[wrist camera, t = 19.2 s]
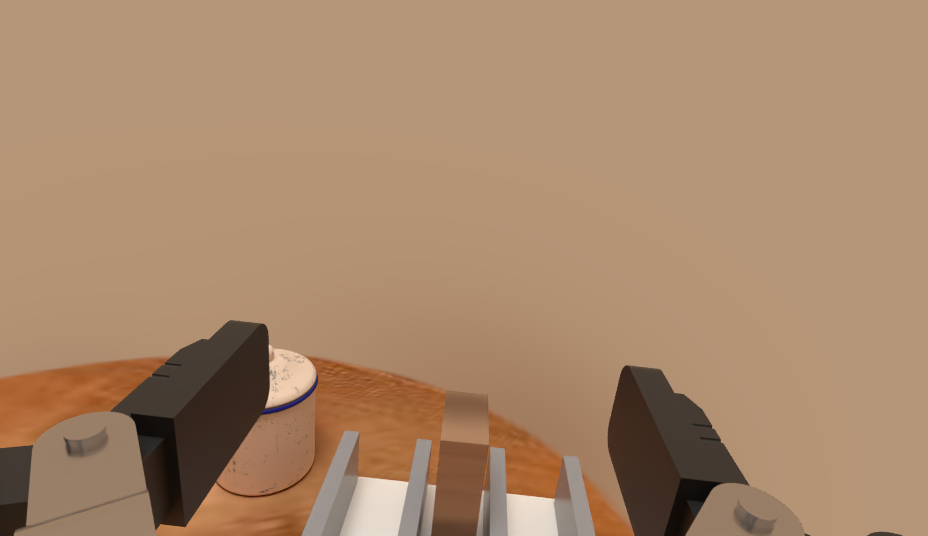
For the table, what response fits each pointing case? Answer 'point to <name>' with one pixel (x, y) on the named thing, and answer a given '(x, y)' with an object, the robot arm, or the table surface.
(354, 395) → the table surface
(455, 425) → the walnut board
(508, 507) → the rack
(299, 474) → the teacup with lid
